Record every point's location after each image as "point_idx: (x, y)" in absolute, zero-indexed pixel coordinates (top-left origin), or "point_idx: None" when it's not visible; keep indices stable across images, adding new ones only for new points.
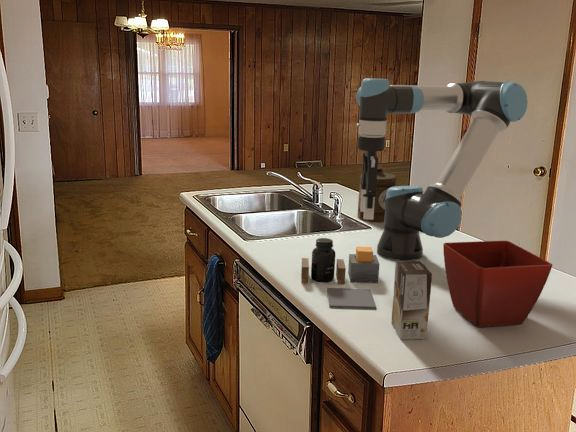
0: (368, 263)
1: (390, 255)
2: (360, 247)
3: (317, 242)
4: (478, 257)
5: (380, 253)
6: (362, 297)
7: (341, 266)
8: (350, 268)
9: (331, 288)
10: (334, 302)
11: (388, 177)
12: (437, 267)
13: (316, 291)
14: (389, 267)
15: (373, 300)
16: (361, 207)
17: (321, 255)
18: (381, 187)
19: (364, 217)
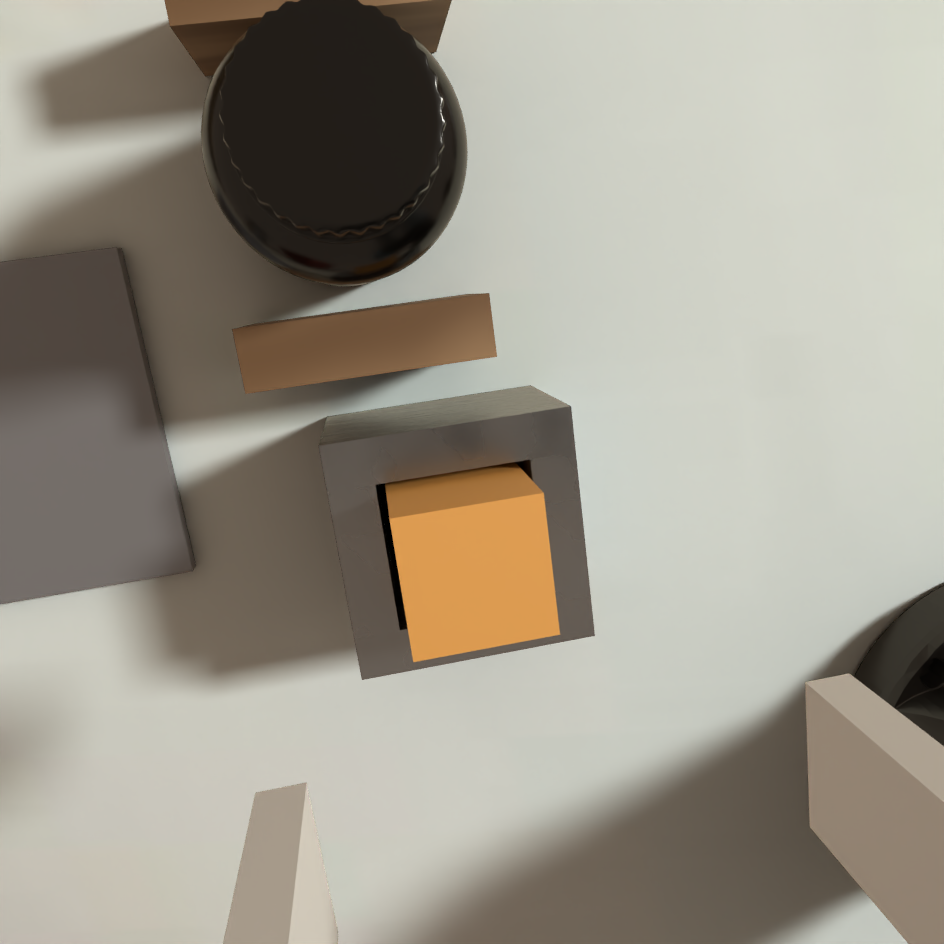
0: (347, 591)
1: (878, 676)
2: (519, 536)
3: (260, 22)
4: None
5: (938, 600)
6: (3, 526)
7: (290, 352)
8: (382, 423)
9: (110, 282)
10: None
11: None
12: (743, 940)
13: (59, 161)
14: (697, 664)
15: None
16: (855, 738)
17: (202, 128)
18: None
19: (250, 827)
